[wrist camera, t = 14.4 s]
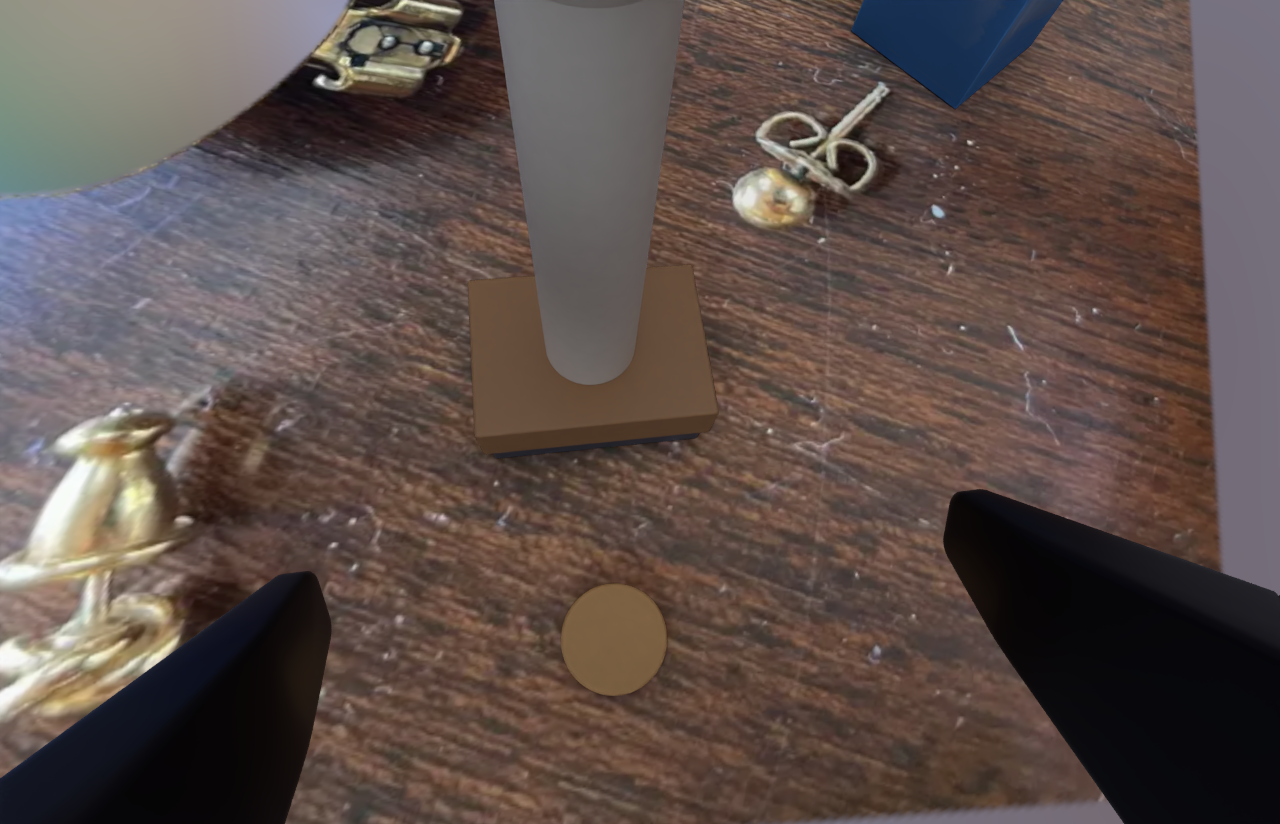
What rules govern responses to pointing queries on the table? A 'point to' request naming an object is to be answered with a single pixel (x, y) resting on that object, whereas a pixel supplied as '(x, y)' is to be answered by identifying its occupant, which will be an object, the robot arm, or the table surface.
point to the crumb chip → (614, 639)
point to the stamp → (589, 243)
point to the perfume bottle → (952, 38)
